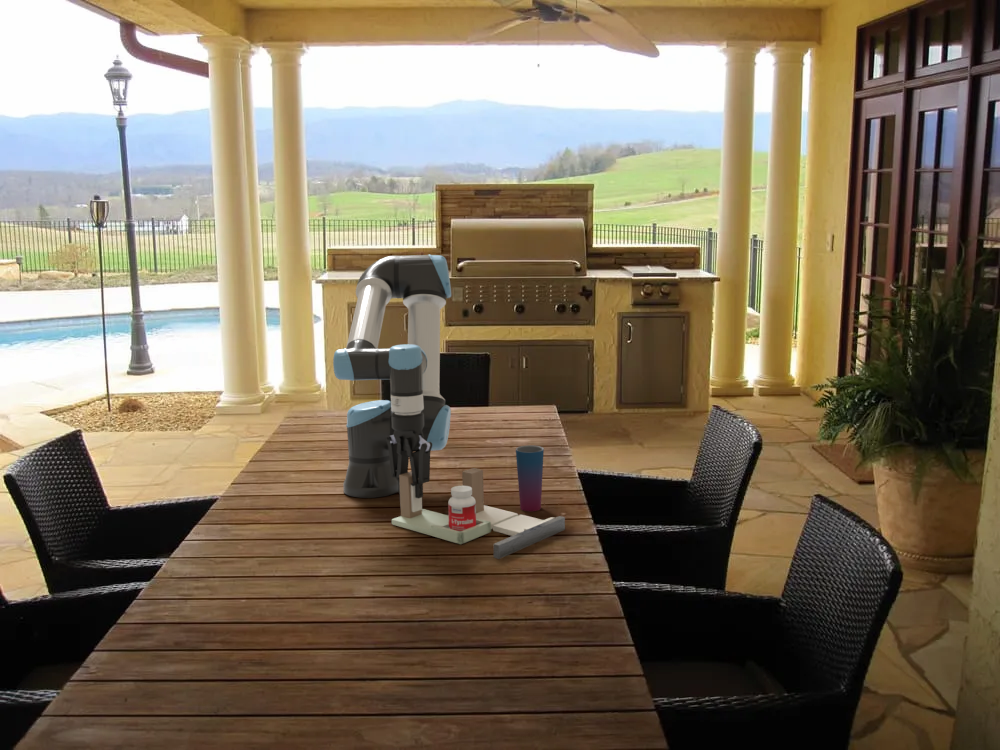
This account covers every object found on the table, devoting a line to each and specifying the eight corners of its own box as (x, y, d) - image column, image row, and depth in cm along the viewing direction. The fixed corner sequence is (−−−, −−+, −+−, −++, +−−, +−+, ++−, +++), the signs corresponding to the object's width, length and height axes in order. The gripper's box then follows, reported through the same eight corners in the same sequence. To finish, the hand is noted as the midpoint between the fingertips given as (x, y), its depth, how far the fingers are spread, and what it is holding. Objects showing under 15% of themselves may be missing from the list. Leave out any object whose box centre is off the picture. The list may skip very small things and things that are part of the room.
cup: (542, 513, 227) (541, 452, 225) (514, 512, 229) (513, 451, 226) (546, 504, 234) (545, 445, 231) (519, 503, 235) (518, 444, 233)
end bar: (493, 557, 199) (493, 543, 199) (559, 528, 216) (559, 515, 216) (499, 559, 198) (498, 545, 198) (564, 529, 215) (564, 517, 215)
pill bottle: (448, 540, 210) (447, 492, 208) (449, 531, 216) (447, 484, 214) (476, 539, 210) (475, 491, 208) (476, 530, 216) (475, 484, 214)
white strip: (493, 530, 215) (493, 520, 215) (521, 519, 222) (521, 509, 222) (527, 539, 209) (527, 529, 208) (555, 527, 216) (554, 517, 216)
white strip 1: (454, 520, 223) (453, 474, 221) (483, 509, 230) (481, 465, 228) (490, 529, 216) (488, 482, 214) (517, 518, 223) (517, 472, 221)
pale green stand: (391, 524, 221) (389, 477, 219) (422, 513, 228) (420, 468, 226) (460, 544, 207) (459, 495, 205) (490, 532, 214) (489, 484, 212)
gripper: (371, 410, 221) (376, 506, 226) (420, 419, 211) (424, 519, 215) (395, 404, 227) (399, 498, 231) (443, 413, 217) (447, 511, 221)
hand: (411, 508), depth 223 cm, fingers closed on pale green stand, 3 cm apart
